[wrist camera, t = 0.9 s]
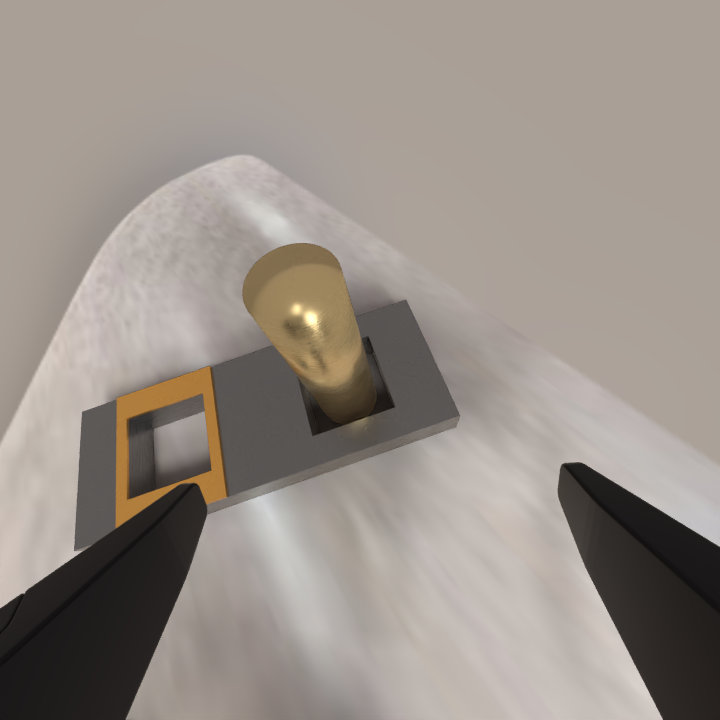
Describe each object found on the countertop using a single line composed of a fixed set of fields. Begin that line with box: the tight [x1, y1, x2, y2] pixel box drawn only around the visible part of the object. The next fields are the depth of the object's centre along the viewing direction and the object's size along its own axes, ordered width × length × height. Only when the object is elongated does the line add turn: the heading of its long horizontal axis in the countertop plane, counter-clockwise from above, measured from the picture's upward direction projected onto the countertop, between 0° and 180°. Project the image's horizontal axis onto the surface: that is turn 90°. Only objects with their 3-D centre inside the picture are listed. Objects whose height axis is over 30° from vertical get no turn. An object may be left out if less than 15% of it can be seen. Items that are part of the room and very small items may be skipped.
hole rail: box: [74, 300, 460, 551], centre depth 24 cm, size 24×9×3 cm, turn 108°
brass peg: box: [243, 243, 377, 424], centre depth 20 cm, size 4×4×13 cm
